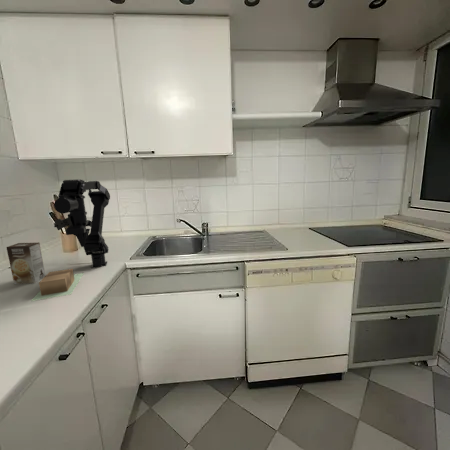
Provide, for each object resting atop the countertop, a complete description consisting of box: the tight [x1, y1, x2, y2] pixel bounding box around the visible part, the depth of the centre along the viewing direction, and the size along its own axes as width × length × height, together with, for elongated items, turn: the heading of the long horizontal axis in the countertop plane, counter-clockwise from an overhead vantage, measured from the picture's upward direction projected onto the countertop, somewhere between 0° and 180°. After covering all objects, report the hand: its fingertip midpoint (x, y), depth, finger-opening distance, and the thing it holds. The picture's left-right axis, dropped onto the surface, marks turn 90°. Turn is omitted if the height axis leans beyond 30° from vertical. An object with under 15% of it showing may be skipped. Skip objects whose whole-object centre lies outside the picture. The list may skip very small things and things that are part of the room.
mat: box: [30, 272, 85, 302], centre depth 93 cm, size 22×12×1 cm, turn 20°
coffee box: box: [5, 242, 46, 285], centre depth 98 cm, size 9×6×16 cm
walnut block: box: [38, 268, 75, 296], centre depth 91 cm, size 5×8×11 cm
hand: (83, 246), depth 101 cm, fingers closed
